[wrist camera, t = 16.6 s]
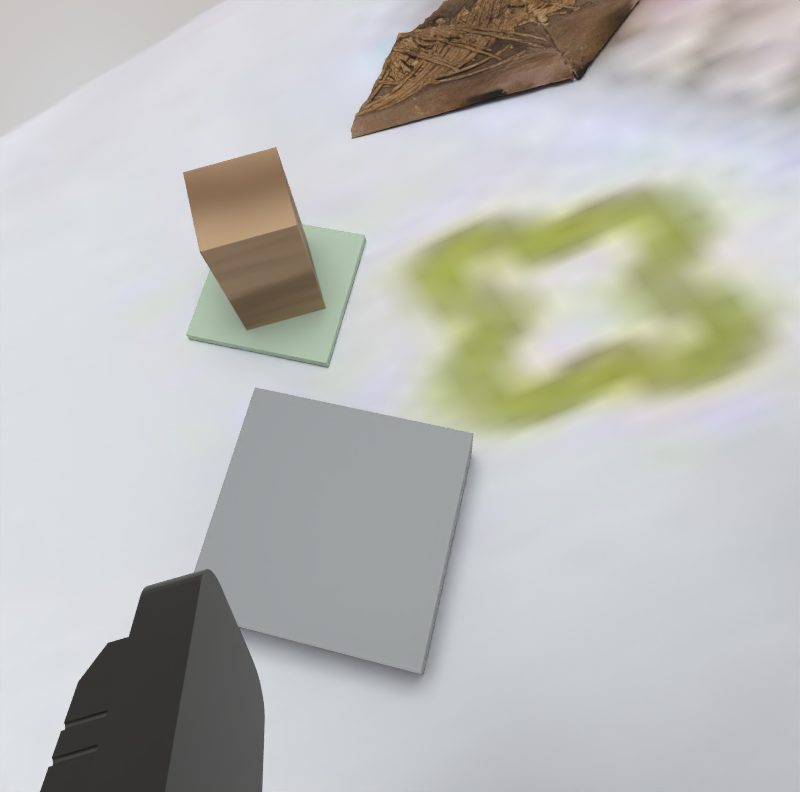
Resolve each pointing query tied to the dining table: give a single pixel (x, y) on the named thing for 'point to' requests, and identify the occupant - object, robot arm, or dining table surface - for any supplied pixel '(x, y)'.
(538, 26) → the wooden fragment
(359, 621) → the gray square slab
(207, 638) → the robot arm
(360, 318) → the dining table surface
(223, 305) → the mat
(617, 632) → the dining table surface
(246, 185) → the walnut block
